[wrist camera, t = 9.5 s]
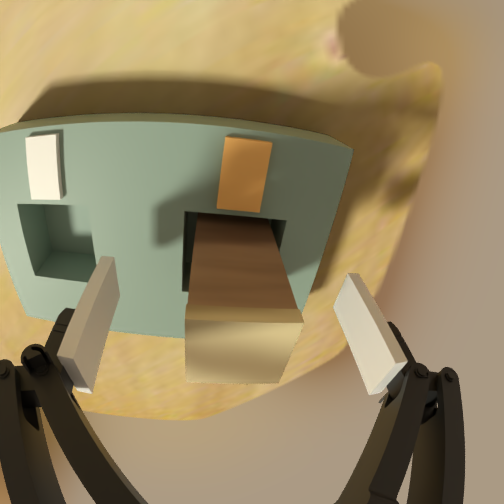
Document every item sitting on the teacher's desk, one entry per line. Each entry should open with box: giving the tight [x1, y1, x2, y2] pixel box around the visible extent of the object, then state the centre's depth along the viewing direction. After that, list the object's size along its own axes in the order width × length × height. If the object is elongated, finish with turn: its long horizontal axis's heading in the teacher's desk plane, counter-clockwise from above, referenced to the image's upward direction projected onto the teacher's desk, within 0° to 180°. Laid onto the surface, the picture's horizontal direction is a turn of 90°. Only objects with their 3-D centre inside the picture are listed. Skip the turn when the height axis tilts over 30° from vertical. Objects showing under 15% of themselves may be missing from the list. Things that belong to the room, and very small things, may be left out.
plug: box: [185, 212, 304, 384], centre depth 16 cm, size 5×5×11 cm
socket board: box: [0, 113, 354, 338], centre depth 19 cm, size 16×24×5 cm, turn 81°
